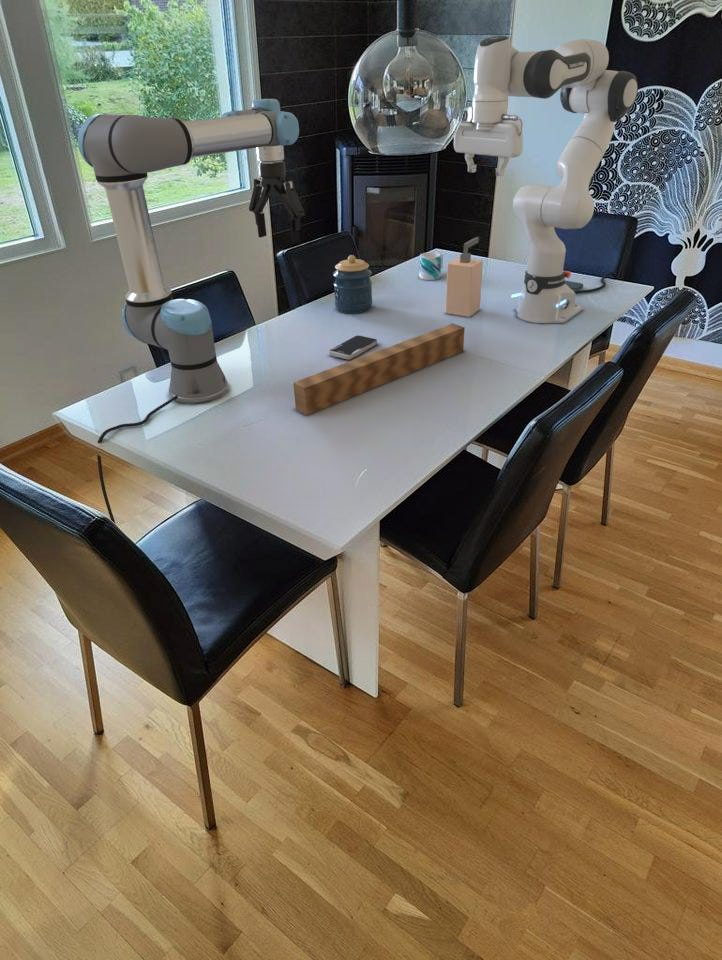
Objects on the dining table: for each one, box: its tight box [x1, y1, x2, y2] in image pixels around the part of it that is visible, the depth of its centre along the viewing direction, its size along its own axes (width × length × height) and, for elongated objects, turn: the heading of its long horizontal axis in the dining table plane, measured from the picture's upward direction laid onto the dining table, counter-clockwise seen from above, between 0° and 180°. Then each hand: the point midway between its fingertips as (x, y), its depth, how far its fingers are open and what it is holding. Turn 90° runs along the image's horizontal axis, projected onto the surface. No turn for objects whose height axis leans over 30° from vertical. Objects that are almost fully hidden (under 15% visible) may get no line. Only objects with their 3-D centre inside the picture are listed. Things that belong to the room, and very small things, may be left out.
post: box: [292, 323, 465, 416], centre depth 179 cm, size 57×5×7 cm, turn 131°
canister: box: [332, 254, 373, 314], centre depth 225 cm, size 13×13×18 cm
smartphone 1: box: [328, 334, 378, 361], centre depth 198 cm, size 8×1×15 cm
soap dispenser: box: [445, 236, 484, 318], centre depth 219 cm, size 13×9×22 cm
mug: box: [418, 251, 444, 281], centre depth 257 cm, size 8×12×8 cm
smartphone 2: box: [565, 280, 584, 291], centre depth 241 cm, size 8×2×15 cm
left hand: (278, 239), depth 201 cm, fingers open, 13 cm apart
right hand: (485, 173), depth 175 cm, fingers open, 8 cm apart
